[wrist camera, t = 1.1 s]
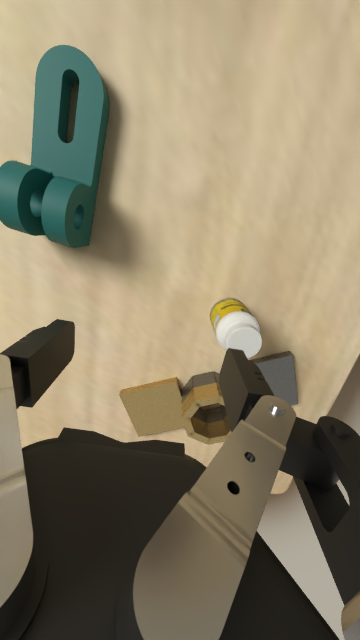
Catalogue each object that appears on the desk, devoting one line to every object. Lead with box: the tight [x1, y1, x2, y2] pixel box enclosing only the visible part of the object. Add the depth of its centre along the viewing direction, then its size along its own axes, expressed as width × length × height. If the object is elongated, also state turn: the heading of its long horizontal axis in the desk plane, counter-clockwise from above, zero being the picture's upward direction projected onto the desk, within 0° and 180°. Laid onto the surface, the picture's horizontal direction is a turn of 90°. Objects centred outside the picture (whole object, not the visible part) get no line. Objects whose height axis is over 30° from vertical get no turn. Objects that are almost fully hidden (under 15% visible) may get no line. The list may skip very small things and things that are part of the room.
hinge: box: [119, 351, 298, 445], centre depth 37 cm, size 29×10×6 cm, turn 105°
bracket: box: [0, 45, 109, 248], centre depth 23 cm, size 18×7×8 cm, turn 163°
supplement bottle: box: [210, 298, 262, 358], centre depth 30 cm, size 5×5×10 cm
